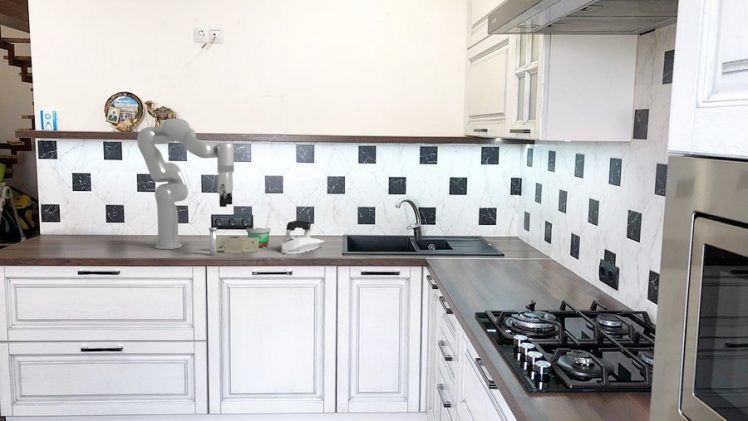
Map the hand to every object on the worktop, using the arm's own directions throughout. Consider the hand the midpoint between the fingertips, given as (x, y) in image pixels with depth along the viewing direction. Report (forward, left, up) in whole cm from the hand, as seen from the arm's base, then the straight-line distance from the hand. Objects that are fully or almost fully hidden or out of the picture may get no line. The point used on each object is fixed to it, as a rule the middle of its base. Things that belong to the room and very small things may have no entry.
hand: (226, 205), depth 305 cm
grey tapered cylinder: (-5, -4, -23) cm, 24 cm away
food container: (+11, +18, -23) cm, 31 cm away
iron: (+33, +15, -23) cm, 43 cm away
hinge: (+2, +6, -23) cm, 24 cm away
